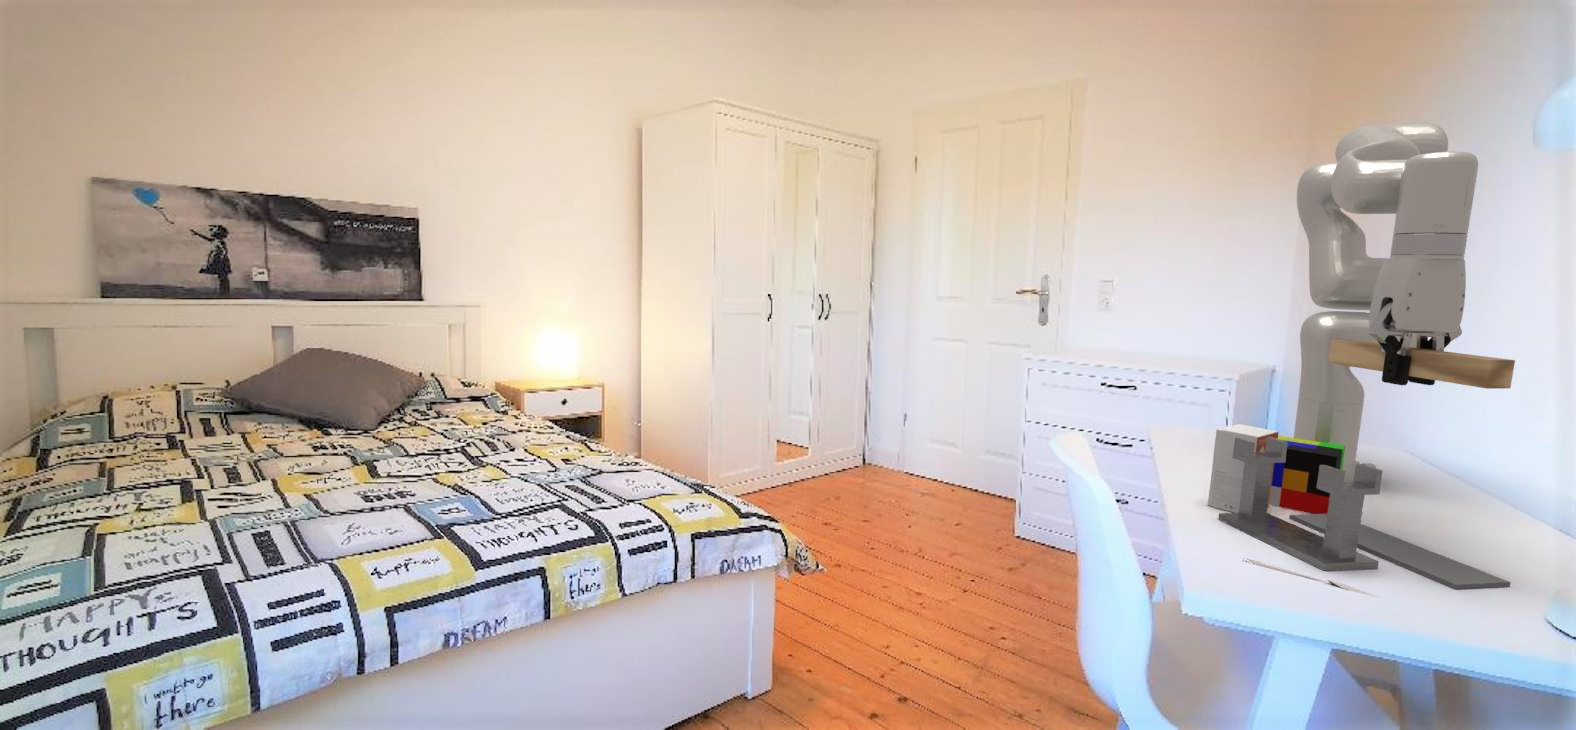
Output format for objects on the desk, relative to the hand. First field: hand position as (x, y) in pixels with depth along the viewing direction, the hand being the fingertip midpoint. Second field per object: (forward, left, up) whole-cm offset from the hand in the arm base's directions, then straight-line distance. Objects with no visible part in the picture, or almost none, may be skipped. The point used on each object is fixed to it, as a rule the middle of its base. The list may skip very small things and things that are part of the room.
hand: (1407, 382), depth 100 cm
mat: (0, +1, -24) cm, 24 cm away
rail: (0, 0, +1) cm, 1 cm away
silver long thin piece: (+19, +10, -24) cm, 32 cm away
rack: (+12, -3, -24) cm, 27 cm away
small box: (+8, -18, -24) cm, 31 cm away
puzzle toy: (-4, -19, -24) cm, 31 cm away
